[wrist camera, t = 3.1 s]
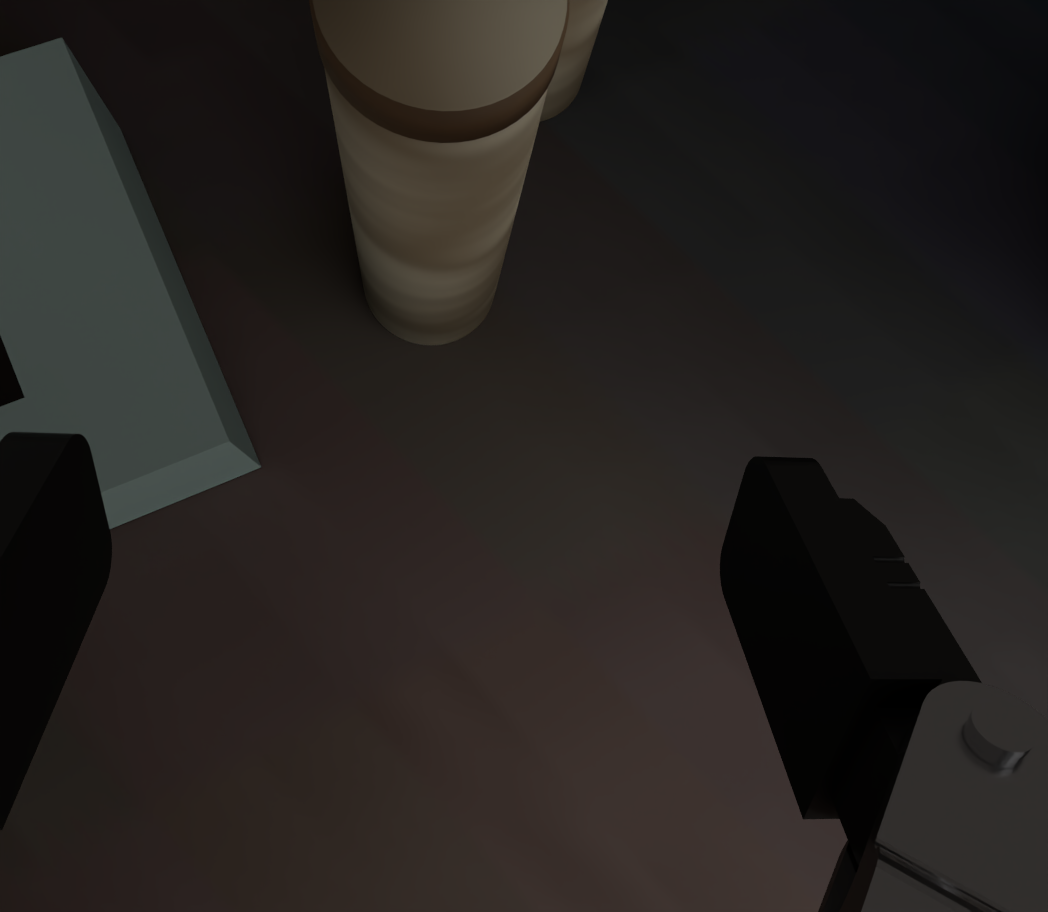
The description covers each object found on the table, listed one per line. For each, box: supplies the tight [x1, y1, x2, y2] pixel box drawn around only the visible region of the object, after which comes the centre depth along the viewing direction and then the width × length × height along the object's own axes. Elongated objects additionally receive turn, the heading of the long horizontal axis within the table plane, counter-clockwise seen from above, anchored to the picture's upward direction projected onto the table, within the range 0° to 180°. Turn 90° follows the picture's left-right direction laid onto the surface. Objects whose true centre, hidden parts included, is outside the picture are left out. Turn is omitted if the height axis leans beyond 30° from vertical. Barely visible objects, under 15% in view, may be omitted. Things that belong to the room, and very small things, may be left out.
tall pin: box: [309, 0, 570, 345], centre depth 18 cm, size 4×4×12 cm
